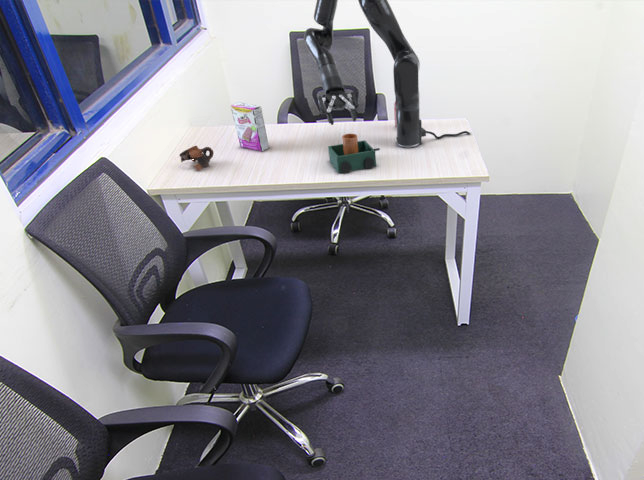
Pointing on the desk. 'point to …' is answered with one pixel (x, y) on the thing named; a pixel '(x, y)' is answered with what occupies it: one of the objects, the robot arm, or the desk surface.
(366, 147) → the cart
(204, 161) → the pottery mug
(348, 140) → the orange cup
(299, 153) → the desk surface
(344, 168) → the cart wheels
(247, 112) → the candy bar box
